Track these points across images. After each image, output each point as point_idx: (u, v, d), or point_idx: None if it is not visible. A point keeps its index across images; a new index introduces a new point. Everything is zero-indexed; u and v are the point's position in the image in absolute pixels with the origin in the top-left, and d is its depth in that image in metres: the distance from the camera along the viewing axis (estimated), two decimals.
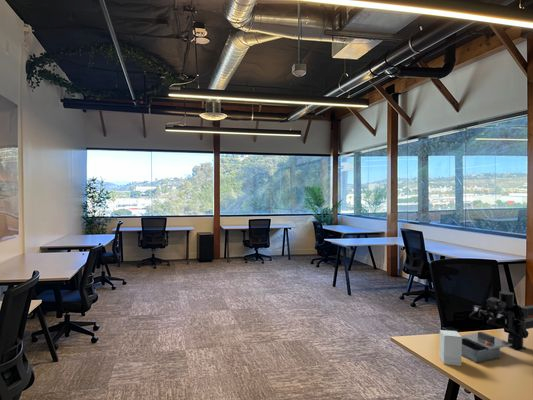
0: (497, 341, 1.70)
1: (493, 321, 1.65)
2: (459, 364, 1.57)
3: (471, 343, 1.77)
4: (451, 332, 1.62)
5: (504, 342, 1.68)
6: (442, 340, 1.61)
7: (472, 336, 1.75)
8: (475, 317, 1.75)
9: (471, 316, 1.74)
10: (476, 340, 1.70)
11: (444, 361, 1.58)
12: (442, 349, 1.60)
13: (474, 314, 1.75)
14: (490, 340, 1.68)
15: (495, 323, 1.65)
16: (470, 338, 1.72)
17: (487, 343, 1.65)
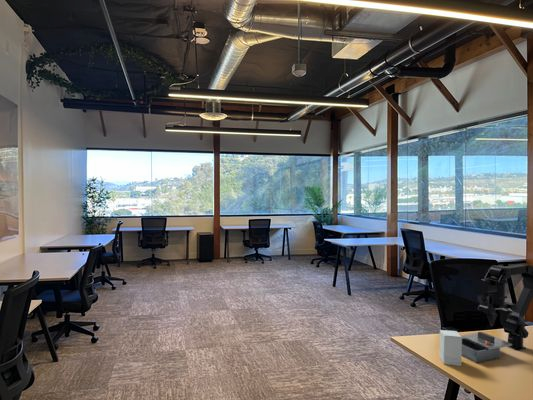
0: (497, 341, 1.70)
1: (490, 320, 1.72)
2: (459, 364, 1.57)
3: (471, 343, 1.77)
4: (451, 332, 1.62)
5: (504, 342, 1.68)
6: (442, 340, 1.61)
7: (472, 336, 1.75)
8: (504, 317, 1.74)
9: (502, 322, 1.75)
10: (476, 340, 1.70)
11: (444, 361, 1.58)
12: (442, 349, 1.60)
13: (501, 317, 1.75)
14: (490, 340, 1.68)
15: (492, 320, 1.71)
16: (470, 338, 1.72)
17: (487, 343, 1.65)
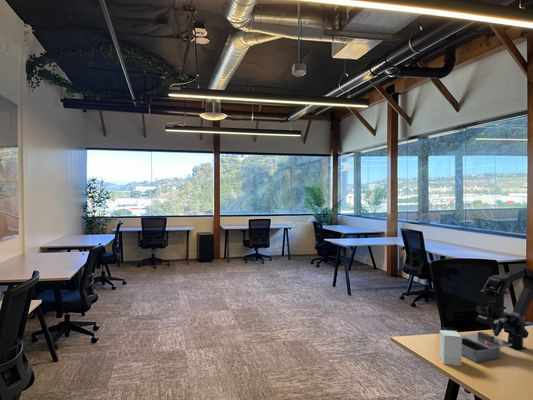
0: (497, 341, 1.70)
1: (494, 330, 1.73)
2: (459, 364, 1.57)
3: (471, 343, 1.77)
4: (451, 332, 1.62)
5: (504, 342, 1.68)
6: (442, 340, 1.61)
7: (472, 336, 1.75)
8: None
9: None
10: (476, 340, 1.70)
11: (444, 361, 1.58)
12: (442, 349, 1.60)
13: None
14: (490, 340, 1.68)
15: (496, 330, 1.72)
16: (470, 338, 1.72)
17: (487, 343, 1.65)
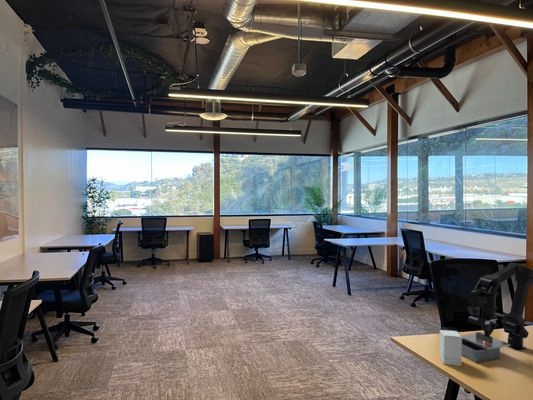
0: (495, 341, 1.69)
1: (485, 331, 1.71)
2: (459, 364, 1.57)
3: (471, 343, 1.77)
4: (451, 332, 1.62)
5: (502, 342, 1.68)
6: (442, 340, 1.61)
7: (470, 336, 1.75)
8: None
9: None
10: (474, 340, 1.70)
11: (444, 361, 1.58)
12: (442, 349, 1.60)
13: None
14: (488, 340, 1.68)
15: (487, 331, 1.70)
16: (468, 338, 1.72)
17: (485, 343, 1.65)
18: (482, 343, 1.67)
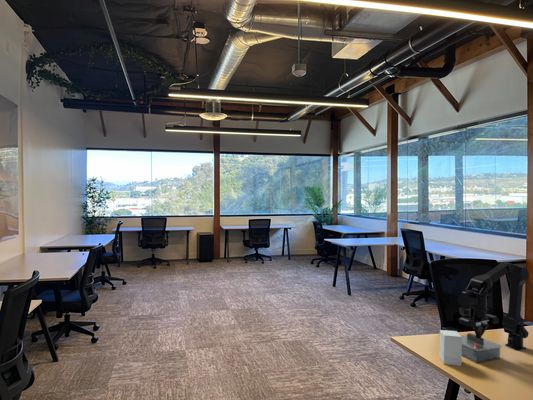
0: (487, 342, 1.68)
1: (476, 333, 1.69)
2: (459, 364, 1.57)
3: None
4: (451, 332, 1.62)
5: (493, 344, 1.66)
6: (442, 340, 1.61)
7: None
8: None
9: (478, 336, 1.69)
10: (465, 342, 1.68)
11: (444, 361, 1.58)
12: (442, 349, 1.60)
13: None
14: (479, 342, 1.66)
15: (478, 332, 1.68)
16: None
17: (476, 345, 1.63)
18: (473, 345, 1.65)
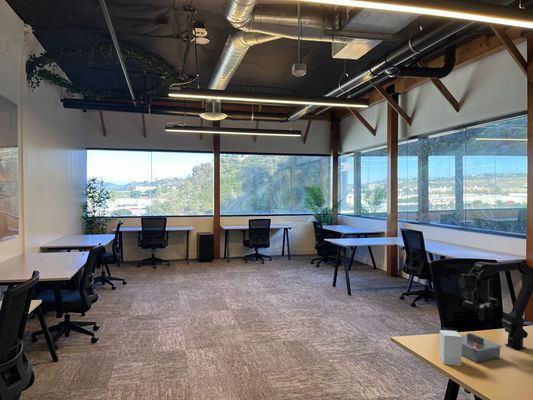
0: (487, 342, 1.68)
1: (479, 315, 1.77)
2: (459, 364, 1.57)
3: None
4: (451, 332, 1.62)
5: (493, 344, 1.66)
6: (442, 340, 1.61)
7: None
8: None
9: None
10: (465, 342, 1.68)
11: (444, 361, 1.58)
12: (442, 349, 1.60)
13: None
14: (479, 342, 1.66)
15: (481, 314, 1.76)
16: None
17: (476, 345, 1.63)
18: (473, 345, 1.65)
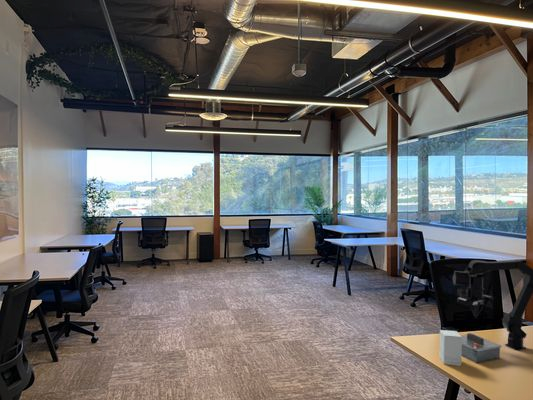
0: (487, 342, 1.68)
1: (473, 311, 1.82)
2: (459, 364, 1.57)
3: None
4: (451, 332, 1.62)
5: (493, 344, 1.66)
6: (442, 340, 1.61)
7: None
8: None
9: None
10: (465, 342, 1.68)
11: (444, 361, 1.58)
12: (442, 349, 1.60)
13: None
14: (479, 342, 1.66)
15: (475, 311, 1.81)
16: None
17: (476, 345, 1.63)
18: (473, 345, 1.65)
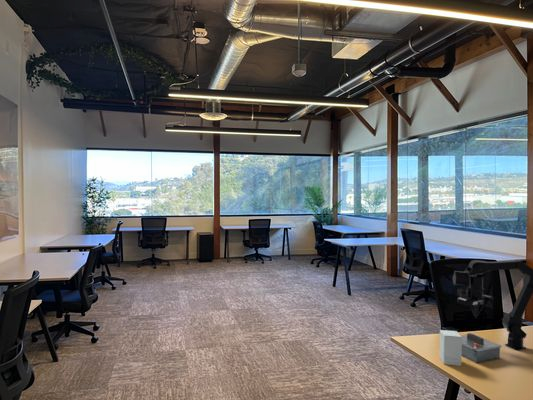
0: (487, 342, 1.68)
1: (473, 311, 1.82)
2: (459, 364, 1.57)
3: None
4: (451, 332, 1.62)
5: (493, 344, 1.66)
6: (442, 340, 1.61)
7: None
8: None
9: None
10: (465, 342, 1.68)
11: (444, 361, 1.58)
12: (442, 349, 1.60)
13: None
14: (479, 342, 1.66)
15: (475, 311, 1.81)
16: None
17: (476, 345, 1.63)
18: (473, 345, 1.65)
